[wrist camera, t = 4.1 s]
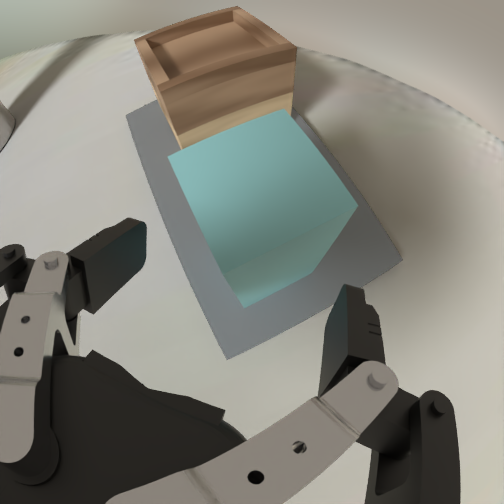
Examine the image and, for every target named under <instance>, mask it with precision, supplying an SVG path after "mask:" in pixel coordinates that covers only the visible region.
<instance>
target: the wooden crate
mask: <svg viewBox="0 0 504 504" xmlns="http://www.w3.org/2000/svg"><path fill="white" fill-rule="evenodd" d="M134 41H135V44H136V47H137V49H138V52H139V54H140V57H141V59H142V62H143V65H144V67H145V70H146V72H147V75H148V77H149V80H150V82H151V85H152V87H153V90H154V92H155V95H156V97H157V100H158V102H159V105H160V107H161V109H162V111H163V113H164V115H165V117H166V119H167V121H168V123H169V125H170V127H171V130H172V132H173V134H174V136H175V138H176V140H177V142H178V144H179V146H180V148H181V150H182V149H184V148H187V147H189V146H191V145H193V144H195V143H197V142H200V141H202V140H204V139H206V138H209V137H211V136H213V135H216V134H218V133H220V132H223V131H225V130H228V129H230V128H233V127H235V126H238V125H240V124H243V123H245V122H248V121H250V120H253V119H256V118H259V117H261V116H264V115H267V114H270V113H272V112H275V111H278V110H281V109H285V110H286V111H287V112H288V114H289V115H290V116H291V109H292V99H293V88H294V77H295V66H296V54H297V47H296V46H294V45H293V44H292V43H291V42H289V41H288V40H287V39H285V38H284V37H283V36H281V35H280V34H278V33H277V32H276V31H274V30H273V29H272V28H270V27H269V26H267V25H266V24H264V23H263V22H261V21H260V20H258V19H257V18H255V17H254V16H252V15H250V14H249V13H248V12H246V11H245V10H243V9H241V8H240V7H238V6H235V7H231V8H226V9H222V10H218V11H214V12H211V13H207V14H204V15H200V16H197V17H194V18H190V19H188V20H184V21H181V22H178V23H175V24H172V25H170V26H167V27H164V28H162V29H159V30H156V31H154V32H151V33H149V34H146V35H144V36H142V37H139V38H137V39H135V40H134Z"/></svg>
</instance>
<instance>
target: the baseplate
mask: <svg viewBox="0 0 504 504" xmlns="http://www.w3.org/2000/svg"><path fill="white" fill-rule="evenodd" d="M291 117H292V118H293V120H294V121H295V122H296V123H297V124H298V125H299V127H300V128H301V129H302V130H303V132H304V133H305V134H306V135H307V137H308V138H309V139H310V140H311V142H312V143H313V144H314V145H315V147H316V148H317V149H318V150H319V152H320V153H321V154H322V156H323V157H324V158H325V160H326V161H327V162H328V164H329V165H330V166H331V168H332V169H333V170H334V172H335V173H336V174H337V176H338V177H339V179H340V180H341V181H342V183H343V184H344V186H345V187H346V188H347V190H348V191H349V193H350V194H351V196H352V197H353V199H354V200H355V202H356V203H357V204H358V207H357V208H356V210H355V211H354V213H353V214H352V216H351V217H350V219H349V220H348V222H347V223H346V225H345V226H344V228H343V229H342V231H341V232H340V234H339V235H338V237H337V238H336V240H335V241H334V243H333V244H332V245H331V247H330V248H329V250H328V251H327V253H326V254H325V255H324V257H323V258H322V260H321V261H320V262H319V264H318V265H317V267H316V268H315V269H314V271H313V272H312V273H311V274H309V275H307V276H305V277H303V278H302V279H300V280H298V281H296V282H294V283H292V284H290V285H288V286H287V287H285V288H283V289H281V290H279V291H277V292H275V293H273V294H271V295H269V296H267V297H265V298H264V299H262V300H260V301H258V302H256V303H254V304H252V305H250V306H248V307H246V308H244V307H243V306H242V304H241V302H240V301H239V299H238V298H237V296H236V295H235V293H234V292H233V290H232V289H231V287H230V285H229V284H228V282H227V281H226V279H225V278H224V276H223V274H222V272H221V270H220V268H219V266H218V264H217V262H216V260H215V258H214V256H213V254H212V252H211V250H210V248H209V246H208V244H207V241H206V239H205V237H204V235H203V233H202V231H201V229H200V227H199V225H198V222H197V220H196V218H195V216H194V214H193V212H192V210H191V207H190V205H189V203H188V201H187V199H186V197H185V194H184V192H183V190H182V188H181V186H180V183H179V181H178V179H177V177H176V175H175V172H174V170H173V168H172V166H171V163H170V161H169V159H168V156H170V155H172V154H174V153H176V152H178V151H180V150H181V148H180V146H179V144H178V142H177V140H176V138H175V136H174V134H173V132H172V130H171V127H170V125H169V123H168V121H167V119H166V117H165V115H164V113H163V111H162V109H161V107H160V105H159V102H158V100H155V101H153V102H151V103H149V104H147V105H145V106H143V107H141V108H139V109H137V110H135V111H133V112H131V113H129V114H127V115H126V118H127V121H128V125H129V128H130V131H131V134H132V137H133V140H134V143H135V146H136V149H137V152H138V155H139V157H140V160H141V163H142V166H143V169H144V171H145V174H146V177H147V180H148V182H149V185H150V188H151V190H152V193H153V196H154V198H155V201H156V204H157V206H158V209H159V211H160V214H161V216H162V219H163V221H164V224H165V226H166V229H167V231H168V234H169V236H170V238H171V241H172V243H173V246H174V248H175V250H176V253H177V255H178V257H179V260H180V262H181V264H182V267H183V269H184V271H185V273H186V276H187V278H188V280H189V282H190V285H191V287H192V289H193V291H194V293H195V296H196V298H197V300H198V302H199V304H200V306H201V308H202V311H203V313H204V315H205V317H206V319H207V321H208V323H209V325H210V327H211V329H212V331H213V333H214V335H215V337H216V339H217V341H218V343H219V345H220V347H221V349H222V351H223V353H224V355H225V357H226V359H227V360H228V359H230V358H232V357H234V356H236V355H239V354H241V353H243V352H245V351H247V350H249V349H251V348H253V347H255V346H257V345H259V344H261V343H263V342H265V341H267V340H269V339H271V338H273V337H275V336H276V335H278V334H280V333H282V332H284V331H286V330H288V329H290V328H292V327H293V326H295V325H297V324H299V323H301V322H303V321H304V320H306V319H308V318H310V317H312V316H313V315H315V314H317V313H319V312H320V311H322V310H324V309H326V308H327V307H329V306H331V305H333V304H334V303H335V301H336V299H337V297H338V295H339V293H340V290H341V288H342V286H343V285H344V284H348V285H351V286H355V287H358V288H361V287H362V286H364V285H366V284H367V283H369V282H370V281H372V280H373V279H375V278H377V277H378V276H380V275H381V274H383V273H384V272H386V271H387V270H389V269H390V268H392V267H393V266H395V265H396V264H398V263H399V262H401V261H402V260H403V259H402V258H401V256H400V254H399V253H398V251H397V249H396V248H395V246H394V244H393V243H392V241H391V239H390V238H389V236H388V234H387V233H386V231H385V230H384V228H383V226H382V225H381V223H380V222H379V220H378V219H377V217H376V215H375V214H374V212H373V211H372V209H371V208H370V206H369V205H368V203H367V202H366V201H365V199H364V198H363V196H362V195H361V193H360V192H359V190H358V189H357V188H356V186H355V185H354V183H353V182H352V181H351V179H350V178H349V176H348V175H347V174H346V172H345V171H344V170H343V168H342V167H341V166H340V164H339V163H338V162H337V160H336V159H335V158H334V156H333V155H332V154H331V153H330V151H329V150H328V149H327V147H326V146H325V145H324V144H323V142H322V141H321V140H320V139H319V137H318V136H317V135H316V134H315V133H314V131H313V130H312V129H311V128H310V127H309V125H308V124H307V123H306V122H305V121H304V119H303V118H302V117H301V116H300V115H299V114H298V113H297V111H296V110H295V109H294V108H293V107H292V109H291Z"/></svg>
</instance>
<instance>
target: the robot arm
mask: <svg viewBox="0 0 504 504" xmlns="http://www.w3.org/2000/svg"><path fill="white" fill-rule="evenodd" d="M14 125H15V119H14V118H13V116H12V115H11V113H10V112H9V111H8V110H7V108H6V107H5V106H4V105H3V104H2V103H1V102H0V151H1V149H2V148H3V147H4V145H5V144H6V142H7V140H8V139H9V137H10V135H11V133H12V131H13V128H14ZM146 235H147V227H146V224H145V222H142V221H139V220H136V219H132V218H126V219H125V220H123V221H121V222H120V223H118V224H117V225H115V226H112V227H109V228H106V229H103V230H102V231H100V232H99V233H97V234H96V236H95V235H94V236H92V237H91V238H89V240H86V241H85V242H83V243H82V244H80V245H79V246H77V247H76V248H74V249H73V250H71V251H70V252H68V253H67V254H65V253H63V252H60V251H52V252H47V253H45V254H43V255H41V256H39V257H38V258H37V259H36V260H34V259H29V258H26V254H25V250H24V247H23V246H22V245H19V244H12V245H8V246H5V247H3V248H2V249H0V287H1V286H3V285H4V288H5V291H6V294H7V297H8V300H7V301H6V302H5V303H3V304H2V305H1V306H0V504H283V503H284V502H286V501H287V500H288V499H290V498H291V497H292V496H294V495H295V494H296V493H298V492H299V491H300V490H301V489H303V488H304V487H305V486H307V485H308V484H309V483H310V482H311V481H313V480H314V479H315V478H316V477H317V476H319V475H320V474H321V473H322V472H323V471H324V470H326V469H327V468H328V467H329V466H330V465H331V464H332V463H333V462H334V461H336V460H337V459H338V458H339V457H340V456H341V455H342V454H343V453H344V452H345V451H346V450H347V449H348V448H349V447H350V446H351V445H352V444H353V443H354V442H355V441H356V442H358V443H360V444H362V445H364V446H366V447H368V448H370V449H372V453H371V462H370V471H369V478H368V485H367V492H366V498H365V504H460V460H459V447H458V437H457V428H456V421H455V414H454V408H453V405H452V403H451V402H450V400H449V399H448V398H447V397H446V396H445V395H444V394H442V393H441V392H439V391H435V390H429V391H427V392H425V393H424V394H423V395H422V396H421V397H420V398H418V397H416V396H414V395H412V394H410V393H408V392H406V391H404V390H402V389H401V388H399V387H398V386H399V385H398V379H397V377H396V375H395V373H394V372H393V371H392V370H391V369H390V368H389V367H388V366H386V364H385V355H384V347H383V340H382V336H381V335H382V333H381V328H380V320H379V315H378V314H377V312H376V311H375V309H374V307H373V306H372V305H368V304H366V302H365V294H364V290H363V289H361V288H358V287H355V286H351V285H348V284H344V285H343V286H342V288H341V290H340V293H339V295H338V297H337V299H336V301H335V304H334V306H333V308H332V310H331V312H330V314H329V317H328V320H327V323H326V326H325V333H324V345H323V356H322V365H321V375H320V383H319V391H318V397H317V396H315V397H313V398H311V399H310V400H308V401H307V402H306V403H304V404H303V405H301V406H300V407H299V408H297V409H296V410H294V411H293V412H291V413H290V414H288V415H287V416H285V417H284V418H282V419H281V420H279V421H278V422H276V423H275V424H273V425H272V426H270V427H268V428H267V429H265V430H264V431H262V432H260V433H259V434H257V435H256V436H254V437H252V438H250V439H249V440H246V439H245V437H244V436H243V435H242V434H241V433H240V432H239V431H238V430H236V429H235V428H234V427H233V426H231V425H230V424H228V423H227V422H225V421H224V420H223V417H224V413H225V410H223V409H220V408H217V407H215V406H212V405H209V404H206V403H204V402H201V401H198V400H196V399H193V398H191V397H188V396H183V395H177V394H172V393H167V392H162V391H157V390H152V389H149V388H147V387H145V386H144V385H143V384H142V383H140V382H139V381H138V380H137V379H136V378H134V377H133V376H132V375H131V374H130V373H128V372H127V371H126V370H125V369H124V368H123V367H122V366H121V365H119V364H117V363H115V362H113V361H112V360H110V359H108V358H106V357H104V356H103V355H101V354H99V353H97V352H96V351H94V350H92V351H91V352H90V353H89V354H88V355H87V357H81V356H79V339H80V322H81V316H80V311H81V310H82V309H84V310H86V311H88V312H90V313H92V314H95V313H96V312H97V311H98V310H99V309H100V308H101V307H102V306H103V305H104V304H105V303H106V302H107V301H108V300H109V299H110V298H111V297H112V296H113V295H114V294H115V293H116V292H117V291H118V290H119V289H120V288H121V287H122V286H124V285H125V284H126V283H127V282H128V281H129V280H130V279H131V278H132V277H133V276H134V275H135V274H136V273H138V272H139V271H140V270H141V269H142V267H143V265H144V263H145V260H146Z"/></svg>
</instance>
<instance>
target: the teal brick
mask: <svg viewBox="0 0 504 504" xmlns="http://www.w3.org/2000/svg"><path fill="white" fill-rule="evenodd" d="M168 159H169V161H170V163H171V166H172V168H173V170H174V172H175V175H176V177H177V179H178V181H179V183H180V186H181V188H182V190H183V192H184V194H185V197H186V199H187V201H188V203H189V205H190V207H191V210H192V212H193V214H194V216H195V218H196V220H197V222H198V225H199V227H200V229H201V231H202V233H203V235H204V237H205V239H206V241H207V244H208V246H209V248H210V250H211V252H212V254H213V256H214V258H215V260H216V262H217V264H218V266H219V268H220V270H221V272H222V274H223V276H224V278H225V279H226V281H227V282H228V284H229V285H230V287H231V289H232V290H233V292H234V293H235V295H236V296H237V298H238V299H239V301H240V302H241V304H242V306H243V307H244V308H246V307H248V306H250V305H252V304H254V303H256V302H258V301H260V300H262V299H264V298H265V297H267V296H269V295H271V294H273V293H275V292H277V291H279V290H281V289H283V288H285V287H287V286H288V285H290V284H292V283H294V282H296V281H298V280H300V279H302V278H303V277H305V276H307V275H309V274H311V273H312V272H313V271H314V269H315V268H316V267H317V265H318V264H319V262H320V261H321V260H322V258H323V257H324V255H325V254H326V253H327V251H328V250H329V248H330V247H331V245H332V244H333V243H334V241H335V240H336V238H337V237H338V235H339V234H340V232H341V231H342V229H343V228H344V226H345V225H346V223H347V222H348V220H349V219H350V217H351V216H352V214H353V213H354V211H355V210H356V208H357V207H358V204H357V203H356V202H355V200H354V199H353V197H352V196H351V194H350V193H349V191H348V190H347V188H346V187H345V186H344V184H343V183H342V181H341V180H340V179H339V177H338V176H337V174H336V173H335V172H334V170H333V169H332V168H331V166H330V165H329V164H328V162H327V161H326V160H325V158H324V157H323V156H322V154H321V153H320V152H319V150H318V149H317V148H316V147H315V145H314V144H313V143H312V142H311V140H310V139H309V138H308V137H307V135H306V134H305V133H304V132H303V130H302V129H301V128H300V127H299V125H298V124H297V123H296V122H295V121H294V120H293V118H292V117H291V116H290V115H289V114H288V112H287V111H286V110H285V109H281V110H278V111H275V112H272V113H270V114H267V115H264V116H261V117H259V118H256V119H253V120H250V121H248V122H245V123H243V124H240V125H238V126H235V127H233V128H230V129H228V130H225V131H223V132H220V133H218V134H216V135H213V136H211V137H209V138H206V139H204V140H202V141H200V142H197V143H195V144H193V145H191V146H189V147H187V148H184V149H182V150H180V151H178V152H176V153H174V154H172V155H170V156H168Z"/></svg>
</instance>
